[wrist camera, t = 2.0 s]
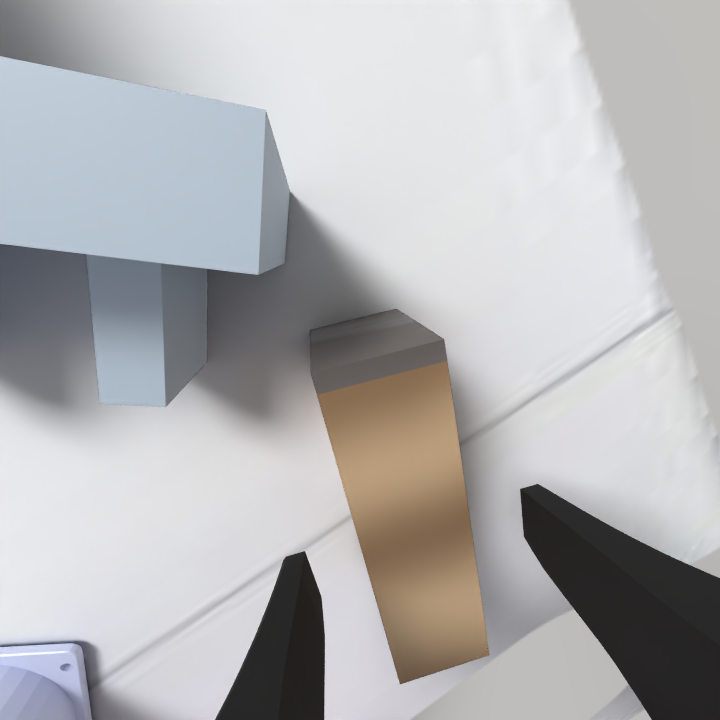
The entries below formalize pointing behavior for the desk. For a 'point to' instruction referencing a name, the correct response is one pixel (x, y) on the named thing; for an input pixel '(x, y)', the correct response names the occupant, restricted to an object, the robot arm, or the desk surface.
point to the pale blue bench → (139, 209)
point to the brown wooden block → (403, 484)
